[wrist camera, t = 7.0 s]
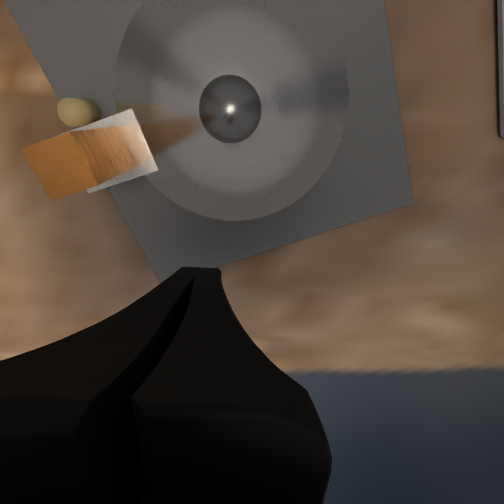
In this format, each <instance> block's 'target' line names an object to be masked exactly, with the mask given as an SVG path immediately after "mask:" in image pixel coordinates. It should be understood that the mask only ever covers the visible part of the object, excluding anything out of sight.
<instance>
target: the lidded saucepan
mask: <svg viewBox="0 0 504 504" xmlns="http://www.w3.org/2000/svg"><path fill="white" fill-rule="evenodd" d="M114 88H115V104H116V111H117V114H115V115H113V116H110V117H107V118H104V119H101V120H99V121H96V122H93V123H90V124H88V125H85V126H82V127H79V128H76V129H74V130H71V131H68V132H65V133H63V134H60V135H57V136H56V137H53V138H50V139H48V140H45V141H42V142H39V143H36V144H34V145H31V146H28V147H25V148H23V149H21V151H22V152H23V154H24V156H25V157H26V159H27V161H28V163H29V164H30V166H31V168H32V169H33V171H34V173H35V174H36V176H37V178H38V179H39V181H40V183H41V184H42V186H43V188H44V189H45V191H46V193H47V194H48V196H49V198H50V199H51V201H53V200H56V199H59V198H62V197H65V196H68V195H71V194H74V193H77V192H80V191H83V190H87V192H88V194H89V193H92V192H95V191H98V190H101V189H104V188H107V187H110V186H113V185H116V184H119V183H122V182H125V181H128V180H131V179H134V178H137V177H140V176H143V175H145V176H146V177H147V179H148V180H149V181H150V182H151V183H152V184H153V185H154V186H155V187H156V188H157V189H158V190H159V191H160V192H161V193H162V194H163V195H165V196H166V197H168V198H169V199H170V200H172V201H173V202H174V203H176V204H178V205H180V206H181V207H183V208H185V209H187V210H189V211H191V212H194V213H196V214H199V215H202V216H205V217H209V218H213V219H219V220H228V221H241V220H251V219H256V218H260V217H264V216H267V215H270V214H273V213H275V212H278V211H280V210H282V209H284V208H286V207H288V206H289V205H291V204H292V203H294V202H295V201H297V200H298V199H300V198H301V197H302V196H303V195H304V194H305V193H307V192H308V191H309V190H310V189H311V188H312V187H313V186H314V185H315V184H316V182H317V181H318V180H319V179H320V178H321V177H322V175H323V174H324V172H325V171H326V169H327V168H328V166H329V165H330V163H331V161H332V159H333V157H334V155H335V154H336V152H337V149H338V146H339V144H340V141H341V139H342V135H343V132H344V128H345V124H346V119H347V111H348V97H349V87H348V77H347V69H346V64H345V60H344V56H343V52H342V49H341V46H340V44H339V41H338V38H337V36H336V34H335V32H334V30H333V28H332V26H331V24H330V22H329V20H328V19H327V17H326V16H325V14H324V13H323V11H322V10H321V9H320V7H319V6H318V5H317V3H316V2H315V1H314V0H145V1H144V2H143V3H142V5H141V6H140V7H139V9H138V10H137V12H136V13H135V14H134V16H133V18H132V20H131V22H130V24H129V26H128V28H127V29H126V32H125V35H124V37H123V40H122V43H121V45H120V49H119V53H118V58H117V62H116V70H115V80H114Z"/></svg>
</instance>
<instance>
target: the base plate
mask: <svg viewBox="0 0 504 504" xmlns="http://www.w3.org/2000/svg"><path fill="white" fill-rule="evenodd" d="M4 1H5V3H6V5H7V7H8V8H9V10H10V12H11V14H12V16H13V18H14V19H15V21H16V23H17V25H18V27H19V28H20V30H21V32H22V34H23V36H24V37H25V39H26V41H27V43H28V45H29V46H30V48H31V50H32V52H33V54H34V55H35V57H36V59H37V61H38V63H39V64H40V66H41V68H42V70H43V72H44V73H45V75H46V77H47V79H48V81H49V83H50V84H51V86H52V88H53V90H54V92H55V93H56V95H57V97H58V99H59V103H58V105H57V113H58V116H59V118H60V119H61V120H62V122H64V123H65V124H66V125H68V126H71V127H74V128H75V129H76V128H79V127H82V126H85V125H88V124H90V123H93V122H96V121H99V120H101V119H104V118H107V117H110V116H113V115H115V114H117V111H116V104H115V88H114V80H115V70H116V62H117V58H118V53H119V49H120V45H121V43H122V40H123V37H124V35H125V32H126V29H127V28H128V26H129V24H130V22H131V20H132V18H133V16H134V14H135V13H136V12H137V10H138V9H139V7H140V6H141V5H142V3H143V2H144V1H145V0H4ZM314 1H315V2H316V3H317V5H318V6H319V7H320V9H321V10H322V11H323V13H324V14H325V16H326V17H327V19H328V20H329V22H330V24H331V26H332V28H333V30H334V32H335V34H336V36H337V38H338V41H339V44H340V46H341V49H342V52H343V56H344V60H345V64H346V69H347V77H348V87H349V97H348V111H347V119H346V124H345V128H344V132H343V135H342V139H341V141H340V144H339V146H338V149H337V152H336V154H335V155H334V157H333V159H332V161H331V163H330V165H329V166H328V168H327V169H326V171H325V172H324V174H323V175H322V177H321V178H320V179H319V180H318V181H317V182H316V184H315V185H314V186H313V187H312V188H311V189H310V190H309V191H308V192H307V193H305V194H304V195H303V196H302V197H301V198H300V199H298V200H297V201H295V202H294V203H292V204H291V205H289V206H288V207H286V208H284V209H282V210H280V211H278V212H275V213H273V214H270V215H267V216H264V217H260V218H256V219H251V220H241V221H228V220H219V219H213V218H209V217H205V216H202V215H199V214H196V213H194V212H191V211H189V210H187V209H185V208H183V207H181V206H180V205H178V204H176V203H174V202H173V201H172V200H170V199H169V198H168V197H166V196H165V195H163V194H162V193H161V192H160V191H159V190H158V189H157V188H156V187H155V186H154V185H153V184H152V183H151V182H150V181H149V180H148V179H147V177H146V176H145V175H143V176H140V177H137V178H134V179H131V180H128V181H125V182H122V183H119V184H116V185H113V186H110V187H108V189H109V191H110V193H111V194H112V196H113V198H114V200H115V202H116V203H117V205H118V207H119V209H120V211H121V213H122V214H123V216H124V218H125V220H126V222H127V223H128V225H129V227H130V229H131V231H132V232H133V234H134V236H135V238H136V240H137V241H138V243H139V245H140V247H141V249H142V250H143V252H144V254H145V256H146V258H147V259H148V261H149V263H150V265H151V267H152V268H153V270H154V272H155V274H156V276H157V278H158V279H159V281H160V283H162V282H163V281H165V280H166V279H167V278H168V277H170V276H171V275H172V274H173V273H175V272H176V271H177V270H179V269H180V268H181V267H203V268H217V267H220V266H223V265H226V264H229V263H232V262H236V261H239V260H242V259H245V258H248V257H251V256H254V255H257V254H260V253H263V252H266V251H269V250H272V249H275V248H278V247H281V246H284V245H287V244H290V243H293V242H296V241H300V240H303V239H306V238H309V237H312V236H315V235H318V234H321V233H324V232H327V231H330V230H333V229H336V228H339V227H342V226H345V225H348V224H351V223H354V222H357V221H360V220H364V219H367V218H370V217H373V216H376V215H379V214H382V213H385V212H388V211H391V210H394V209H397V208H400V207H403V206H406V205H409V204H412V203H413V198H412V191H411V184H410V177H409V170H408V163H407V156H406V149H405V142H404V135H403V128H402V121H401V114H400V107H399V100H398V93H397V86H396V79H395V72H394V66H393V59H392V52H391V45H390V38H389V31H388V24H387V17H386V10H385V3H384V0H314Z"/></svg>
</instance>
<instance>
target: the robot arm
mask: <svg viewBox="0 0 504 504" xmlns="http://www.w3.org/2000/svg"><path fill="white" fill-rule="evenodd" d="M497 9H498V56H499V103H500V134H501V137H502V138H504V0H497ZM331 464H332V457H331V452H330V448H329V444H328V441H327V437H326V435H325V432H324V429H323V426H322V423H321V421H320V418H319V416H318V413H317V411H316V409H315V406H314V404H313V402H312V400H311V398H310V396H309V394H308V392H307V390H306V389H305V388H303V387H302V386H301V385H300V384H298V383H297V382H296V381H294V380H293V379H292V378H290V377H289V376H288V375H287V374H285V373H284V372H283V371H281V370H280V369H279V368H278V367H277V366H276V365H274V364H273V363H272V362H271V361H270V360H269V359H268V358H267V357H266V355H265V354H264V353H263V352H262V351H261V350H260V349H259V348H258V347H257V345H256V344H255V343H254V342H253V341H252V340H251V338H250V337H249V336H248V334H247V333H246V332H245V330H244V329H243V327H242V326H241V324H240V323H239V321H238V319H237V318H236V316H235V314H234V312H233V310H232V308H231V306H230V304H229V302H228V300H227V297H226V294H225V292H224V289H223V286H222V282H221V271H220V270H219V268H203V267H181V268H180V269H179V270H177V271H176V272H175V273H173V274H172V275H171V276H170V277H168V278H167V279H166V280H165V281H163V282H162V283H161V284H159V285H158V286H157V287H155V288H154V289H153V290H151V291H150V292H149V293H147V294H146V295H144V296H143V297H141V298H140V299H138V300H137V301H135V302H134V303H132V304H131V305H129V306H128V307H126V308H124V309H123V310H121V311H119V312H117V313H116V314H114V315H112V316H110V317H108V318H106V319H105V320H103V321H101V322H99V323H97V324H95V325H93V326H90V327H88V328H86V329H84V330H81V331H79V332H77V333H75V334H72V335H70V336H68V337H66V338H64V339H61V340H59V341H56V342H53V343H51V344H48V345H46V346H43V347H40V348H37V349H35V350H32V351H29V352H26V353H23V354H20V355H17V356H14V357H11V358H8V359H5V360H1V361H0V504H323V501H324V497H325V493H326V489H327V486H328V481H329V478H330V474H331V466H332V465H331Z"/></svg>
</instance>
